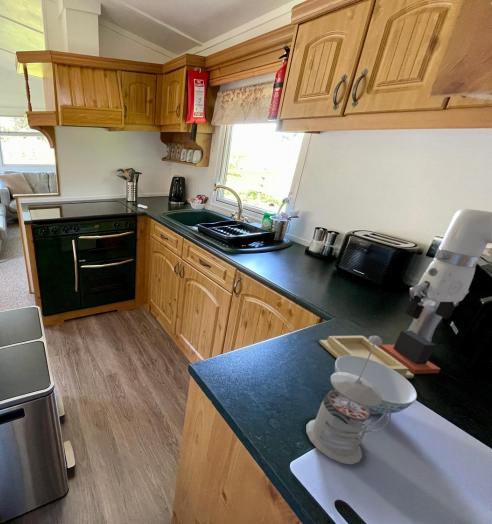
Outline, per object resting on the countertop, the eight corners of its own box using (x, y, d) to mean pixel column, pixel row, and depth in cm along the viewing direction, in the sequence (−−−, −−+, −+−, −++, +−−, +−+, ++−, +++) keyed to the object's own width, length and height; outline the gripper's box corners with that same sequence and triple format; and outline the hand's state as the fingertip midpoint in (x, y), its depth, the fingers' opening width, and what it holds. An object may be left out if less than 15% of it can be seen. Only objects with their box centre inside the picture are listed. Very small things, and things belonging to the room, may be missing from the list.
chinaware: (325, 371, 78) (334, 347, 75) (395, 395, 71) (407, 370, 69) (326, 409, 66) (337, 383, 63) (410, 443, 59) (426, 415, 56)
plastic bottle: (395, 342, 93) (421, 287, 86) (407, 339, 96) (432, 284, 89) (419, 355, 88) (448, 297, 81) (431, 350, 91) (460, 294, 84)
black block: (401, 348, 91) (411, 326, 88) (438, 373, 81) (451, 349, 78) (378, 348, 90) (388, 326, 87) (413, 373, 80) (425, 350, 77)
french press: (301, 413, 64) (336, 316, 55) (360, 429, 61) (407, 330, 52) (312, 454, 55) (355, 346, 46) (382, 475, 52) (442, 364, 44)
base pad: (363, 341, 93) (366, 334, 92) (412, 378, 78) (417, 369, 77) (318, 342, 91) (321, 335, 90) (360, 379, 76) (364, 371, 75)
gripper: (443, 263, 69) (413, 323, 75) (501, 265, 71) (468, 323, 78) (412, 252, 76) (387, 309, 82) (466, 254, 78) (438, 309, 84)
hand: (426, 316), depth 80 cm, fingers open, 9 cm apart
